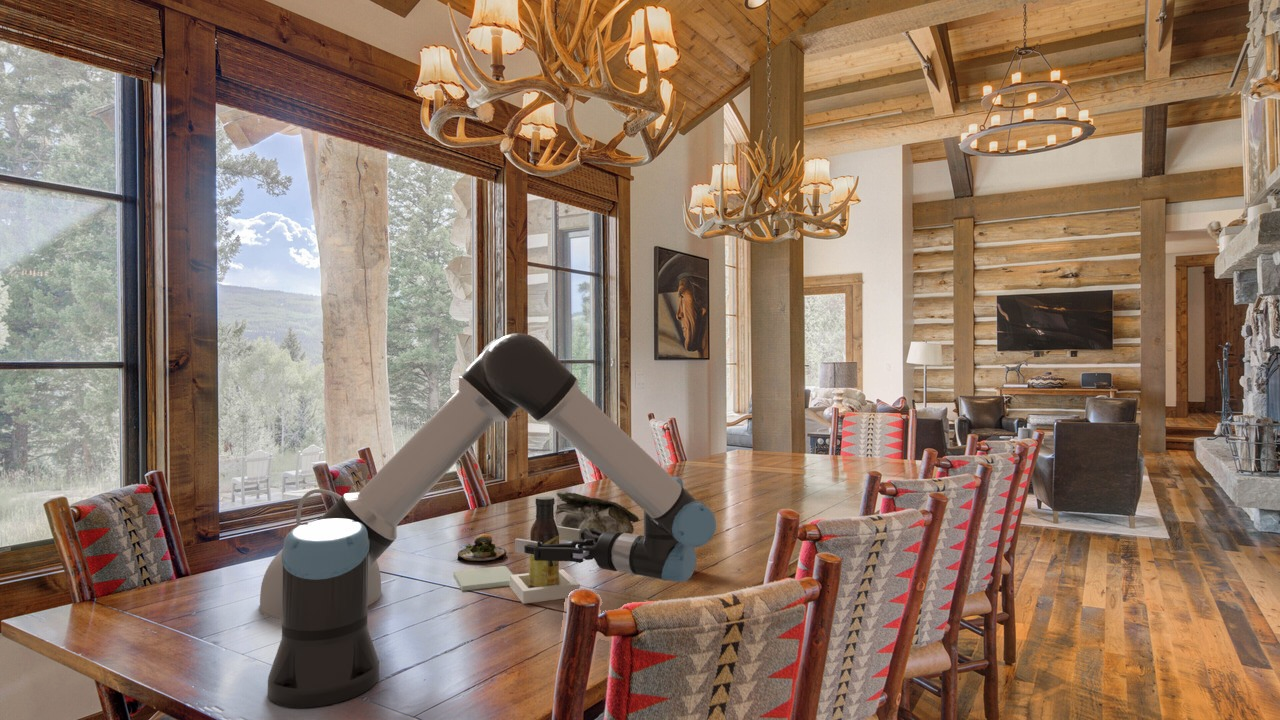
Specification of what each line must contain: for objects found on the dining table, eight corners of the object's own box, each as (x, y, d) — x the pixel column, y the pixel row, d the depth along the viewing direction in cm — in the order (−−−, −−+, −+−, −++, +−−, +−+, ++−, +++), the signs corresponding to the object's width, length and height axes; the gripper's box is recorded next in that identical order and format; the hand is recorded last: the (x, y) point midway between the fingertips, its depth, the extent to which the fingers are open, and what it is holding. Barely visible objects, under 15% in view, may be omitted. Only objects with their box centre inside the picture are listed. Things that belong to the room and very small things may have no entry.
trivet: (462, 591, 148) (462, 586, 148) (453, 575, 159) (453, 571, 159) (517, 584, 153) (517, 579, 153) (505, 569, 164) (505, 565, 164)
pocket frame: (523, 603, 140) (523, 591, 140) (509, 586, 151) (509, 575, 151) (579, 596, 145) (579, 584, 145) (562, 580, 156) (562, 569, 156)
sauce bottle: (553, 597, 144) (553, 501, 145) (524, 595, 146) (525, 500, 146) (562, 587, 151) (563, 495, 151) (535, 585, 152) (535, 494, 152)
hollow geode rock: (558, 547, 204) (528, 515, 197) (582, 512, 211) (554, 480, 204) (625, 563, 184) (595, 528, 177) (648, 524, 191) (620, 488, 184)
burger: (448, 562, 171) (448, 532, 171) (474, 551, 182) (474, 522, 182) (490, 567, 167) (491, 536, 167) (515, 555, 178) (515, 525, 178)
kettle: (412, 596, 145) (413, 487, 146) (313, 630, 126) (314, 505, 126) (336, 577, 158) (337, 477, 158) (235, 606, 138) (236, 492, 139)
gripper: (584, 587, 128) (496, 570, 139) (651, 556, 149) (571, 543, 160) (584, 546, 128) (497, 532, 139) (651, 521, 149) (571, 511, 160)
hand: (536, 538), depth 150 cm, fingers open, 13 cm apart
